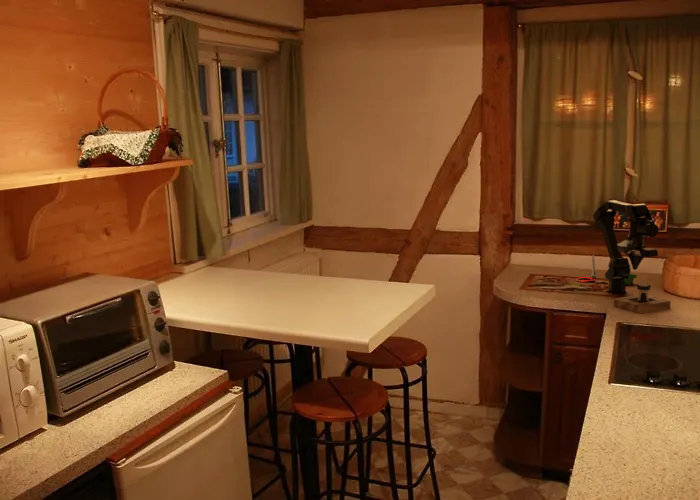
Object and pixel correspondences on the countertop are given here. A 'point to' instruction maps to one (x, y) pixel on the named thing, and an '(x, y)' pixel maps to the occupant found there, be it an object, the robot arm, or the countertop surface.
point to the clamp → (630, 279)
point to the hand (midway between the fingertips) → (634, 269)
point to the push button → (643, 292)
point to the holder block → (642, 304)
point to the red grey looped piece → (592, 272)
